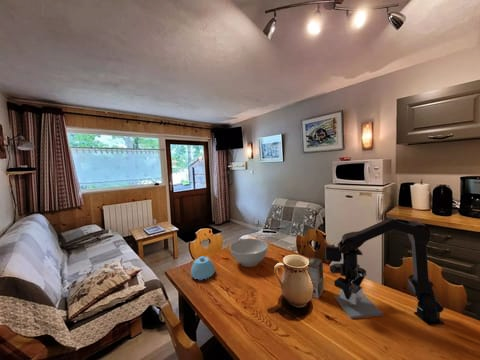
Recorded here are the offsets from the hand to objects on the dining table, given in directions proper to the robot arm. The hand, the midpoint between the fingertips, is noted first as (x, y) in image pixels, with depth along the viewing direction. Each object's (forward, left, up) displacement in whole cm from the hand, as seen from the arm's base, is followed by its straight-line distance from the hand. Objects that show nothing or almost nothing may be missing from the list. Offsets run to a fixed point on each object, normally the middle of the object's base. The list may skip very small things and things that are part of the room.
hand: (351, 295), depth 90 cm
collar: (0, 0, -1) cm, 1 cm away
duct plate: (-2, +1, -5) cm, 5 cm away
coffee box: (+12, -12, -5) cm, 17 cm away
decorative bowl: (+42, -49, -5) cm, 64 cm away
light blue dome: (+73, -39, -5) cm, 83 cm away
